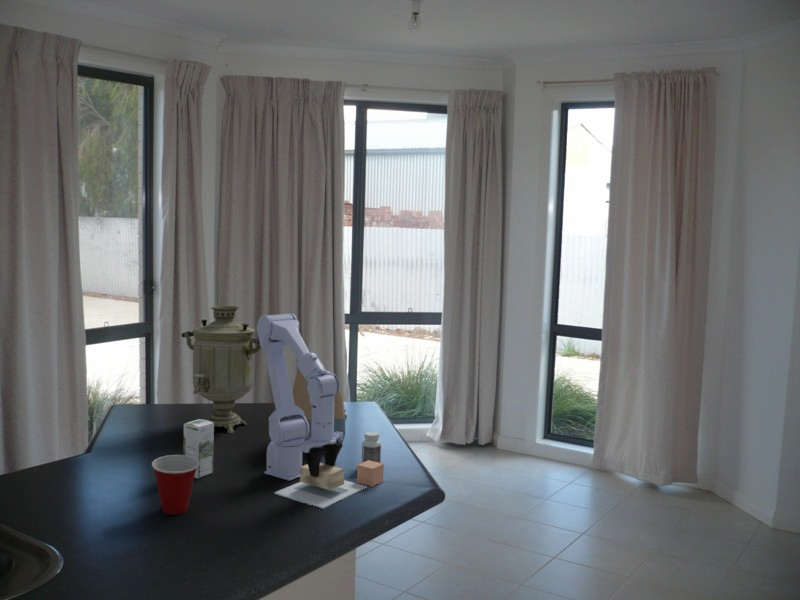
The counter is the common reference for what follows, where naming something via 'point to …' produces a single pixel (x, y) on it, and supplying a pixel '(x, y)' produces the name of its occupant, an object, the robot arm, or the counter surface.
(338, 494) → the white flat plate
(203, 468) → the syrup box
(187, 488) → the plastic cup
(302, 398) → the orange and grey canister
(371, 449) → the pill bottle
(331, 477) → the slab
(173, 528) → the counter surface
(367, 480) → the cube
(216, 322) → the samovar
